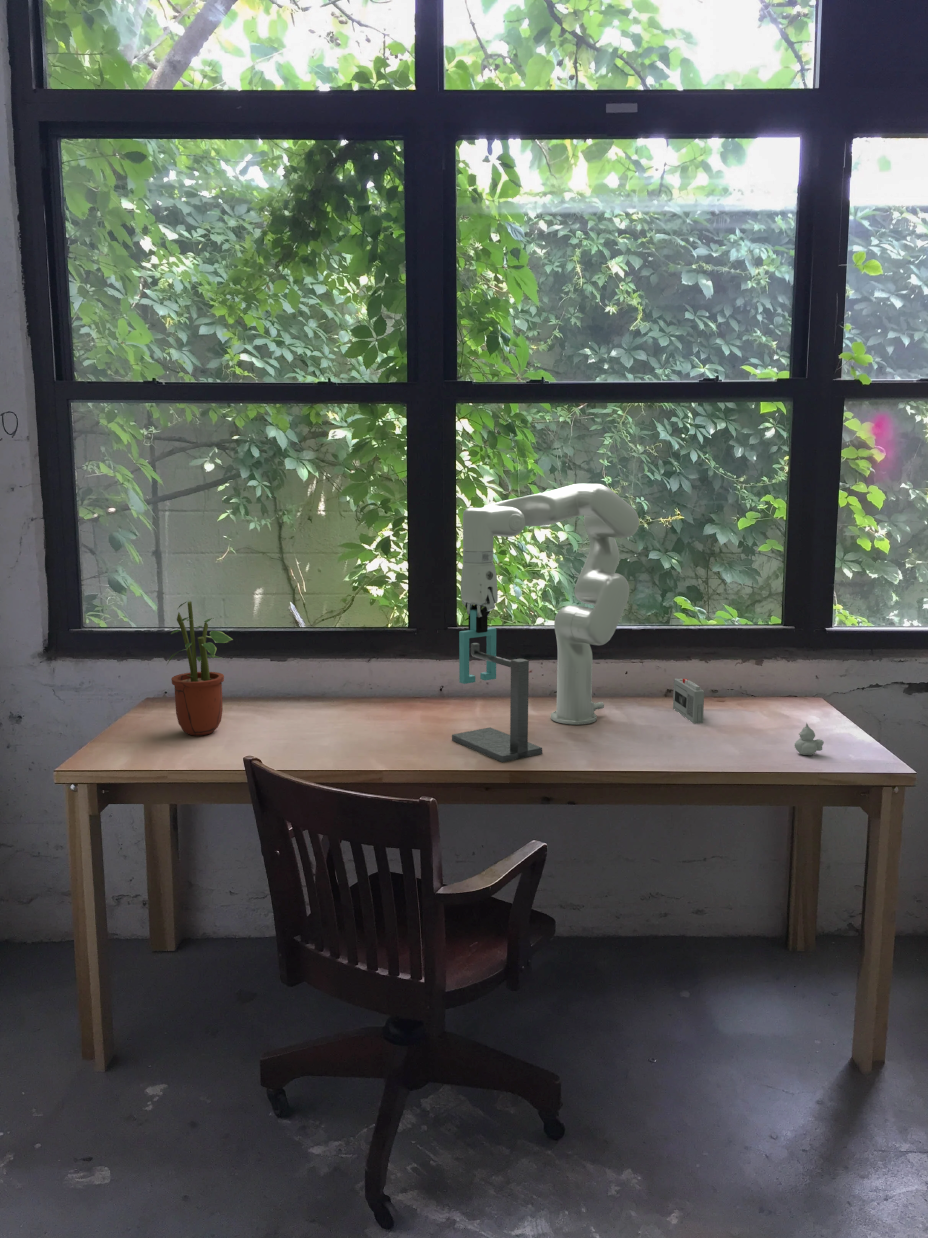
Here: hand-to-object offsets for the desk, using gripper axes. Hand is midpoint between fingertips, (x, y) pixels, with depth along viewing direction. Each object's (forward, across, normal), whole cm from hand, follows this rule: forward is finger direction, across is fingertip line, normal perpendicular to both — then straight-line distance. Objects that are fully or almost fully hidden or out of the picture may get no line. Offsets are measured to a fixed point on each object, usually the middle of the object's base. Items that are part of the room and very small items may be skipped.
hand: (477, 630), depth 226 cm
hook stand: (+28, -8, 0) cm, 29 cm away
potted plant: (+28, +48, +56) cm, 79 cm away
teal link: (+13, 0, 0) cm, 13 cm away
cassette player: (+29, -15, -62) cm, 70 cm away
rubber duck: (+28, -56, -58) cm, 86 cm away
